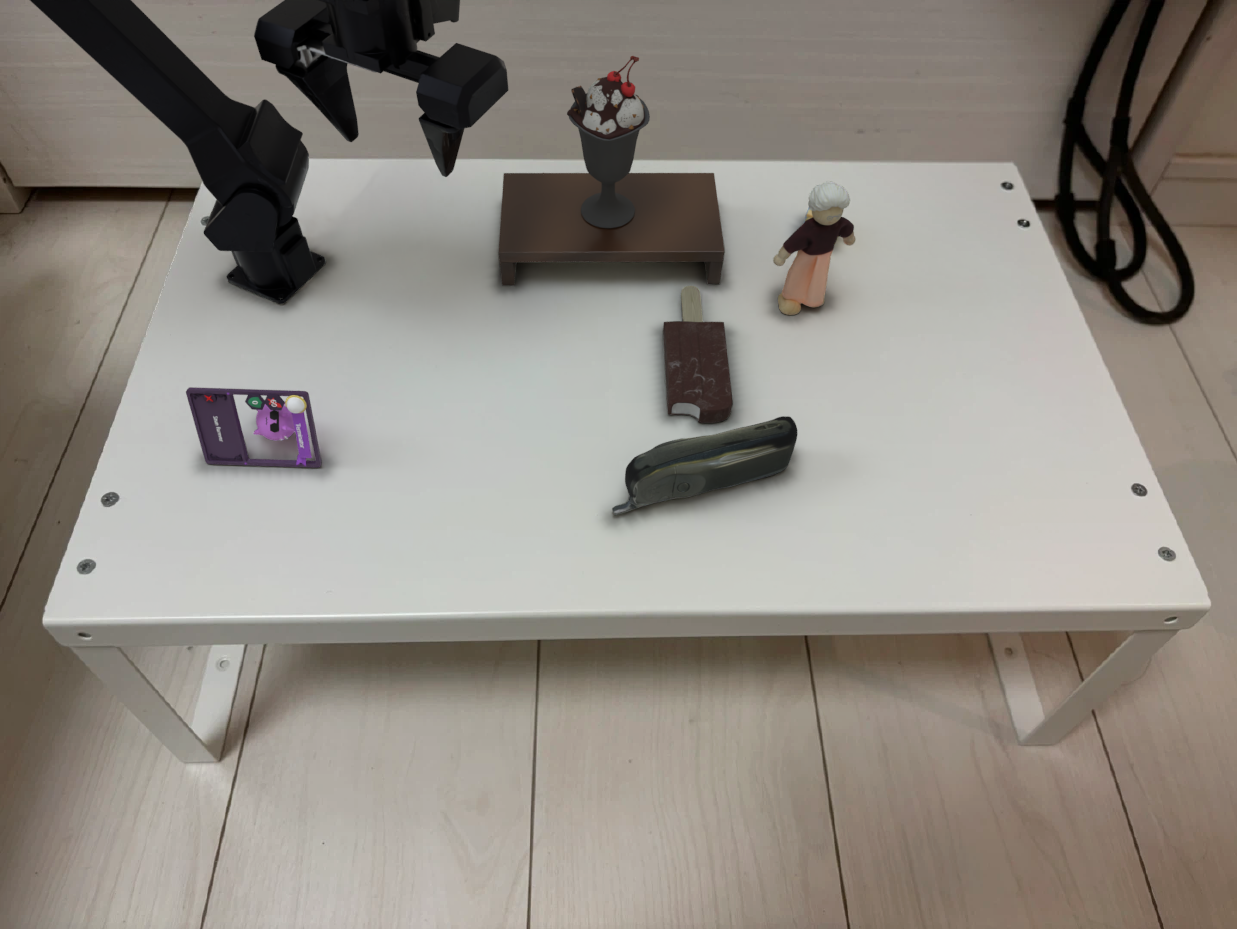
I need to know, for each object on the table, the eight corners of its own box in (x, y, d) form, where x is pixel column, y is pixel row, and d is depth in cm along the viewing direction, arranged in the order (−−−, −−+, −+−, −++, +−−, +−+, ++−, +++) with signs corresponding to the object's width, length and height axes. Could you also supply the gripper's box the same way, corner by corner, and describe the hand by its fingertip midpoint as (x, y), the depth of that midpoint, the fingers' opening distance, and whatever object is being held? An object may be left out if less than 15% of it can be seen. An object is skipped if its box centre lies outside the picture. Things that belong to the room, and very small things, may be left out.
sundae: (659, 213, 85) (670, 60, 73) (603, 245, 82) (605, 92, 70) (612, 177, 88) (615, 24, 75) (557, 207, 85) (550, 53, 73)
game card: (181, 394, 68) (303, 398, 68) (208, 360, 72) (323, 364, 72) (202, 469, 72) (318, 473, 72) (226, 432, 76) (336, 436, 76)
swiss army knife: (789, 405, 71) (605, 455, 68) (807, 435, 69) (619, 487, 66) (777, 444, 75) (603, 493, 72) (794, 473, 73) (616, 524, 70)
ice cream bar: (660, 293, 84) (667, 424, 76) (661, 280, 83) (669, 411, 74) (718, 293, 85) (732, 424, 76) (720, 280, 83) (734, 411, 75)
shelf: (501, 285, 85) (498, 252, 81) (507, 206, 91) (503, 172, 88) (719, 284, 85) (724, 251, 82) (709, 206, 92) (714, 172, 88)
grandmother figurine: (785, 329, 82) (812, 215, 72) (758, 302, 84) (781, 188, 74) (850, 296, 85) (886, 181, 74) (823, 271, 87) (854, 156, 76)
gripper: (541, -60, 64) (550, 136, 76) (322, -122, 68) (365, 73, 81) (451, 16, 58) (477, 215, 71) (218, -57, 63) (282, 142, 75)
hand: (399, 155), depth 75 cm, fingers open, 9 cm apart
